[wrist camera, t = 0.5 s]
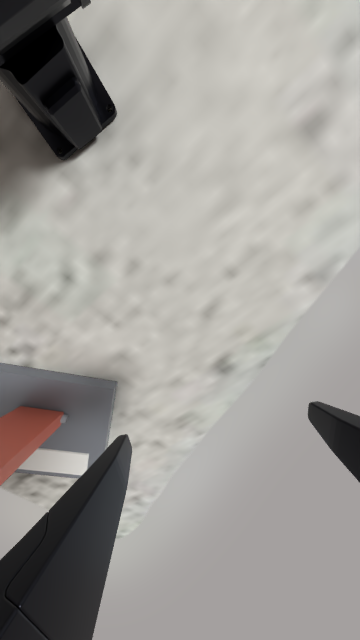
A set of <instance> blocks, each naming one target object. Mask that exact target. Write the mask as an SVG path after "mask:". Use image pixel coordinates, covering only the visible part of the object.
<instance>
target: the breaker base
mask: <svg viewBox="0 0 360 640" xmlns="http://www.w3.org/2000/svg"><path fill="white" fill-rule="evenodd" d="M116 387H117V382H116V381H110V380H103V379H97V378H91V377H85V376H79V375H72V374H66V373H60V372H54V371H48V370H41V369H35V368H29V367H23V366H16V365H10V364H4V363H0V417H2V416H4V415H6V414H8V413H9V412H11V411H13V410H14V409H15V408H18V407H20V406H24V407H31V408H38V409H46V410H53V411H60V412H64V415H69V417H68V420H67V422H66V423H61V426H60V427H59V428H58V429H57V430H56V431H55V432H54V433H53V434H52V435H51V436H50V437H49V438H48V439H47V440H46V441H45V442H44V443H43V444H42V445H41V446H40V447H39V448H38V449H37V450H36V451H35V452H34V453H33V454H32V455H31V456H30V457H29V458H28V459H27V460H26V461H25V462H24V463H23V464H22V465H21V466H20V467H19V468H18V469H17V470H16V471H15V472H19V473H29V474H39V475H49V476H59V477H69V478H80V477H81V476H82V475H83V474H84V472H85V471H86V470H87V469H88V468H89V467H90V466H91V465H92V464H93V463H94V462H95V461H96V460H97V459H98V458H99V456H100V455H101V454H102V453H103V452H104V451H105V450H106V449H107V445H108V439H109V432H110V426H111V419H112V413H113V406H114V400H115V394H116Z"/></svg>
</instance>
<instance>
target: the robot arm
mask: <svg viewBox="0 0 360 640" xmlns="http://www.w3.org/2000/svg"><path fill="white" fill-rule="evenodd" d="M90 3H91V1H90V0H0V80H1V81H2V82H3V84H4V85H5V86H6V87H7V88H8V89H9V90H10V91H11V92H12V93H13V94H14V96H15V97H16V99H17V100H18V102H19V103H20V104H21V106H22V107H23V109H24V110H25V112H26V113H27V114H28V116H29V117H30V119H31V120H32V122H33V123H34V124H35V126H36V127H37V129H38V130H39V132H40V133H41V134H42V136H43V137H44V139H45V140H46V142H47V143H48V144H49V146H50V147H51V149H52V150H53V151H54V153H55V154H56V155H57V156H58V157H59V158H60V159H62V160H65V159H67V158H68V157H69V156H70V155H72V154H73V153H74V152H75V151H76V150H78V149H81V148H82V147H83V146H85V145H86V144H87V143H88V142H89V141H91V140H92V139H93V138H94V137H95V136H97V135H98V134H99V133H100V132H101V130H102V129H103V128H104V127H105V126H106V125H107V124H109V123H110V122H111V121H112V120H113V119H115V117H116V115H117V111H116V108H115V105H114V103H113V101H112V100H111V98H110V96H109V95H108V93H107V91H106V89H105V88H104V86H103V84H102V82H101V81H100V79H99V77H98V75H97V74H96V72H95V70H94V69H93V67H92V65H91V63H90V62H89V60H88V58H87V56H86V55H85V53H84V51H83V49H82V48H81V46H80V44H79V43H78V41H77V39H76V37H75V36H74V33H73V31H72V28H71V26H70V24H69V21H68V19H67V16H68V15H69V14H71V13H72V12H74V11H75V10H76V9H78V8H79V7H80V6H82V8H83V9H84V8H85V7H86V6H88V5H89V4H90ZM110 108H111V109H112V112H108V109H110ZM60 150H63V152H62V154H59V151H60ZM308 418H309V420H310V422H311V423H312V425H313V426H314V427H315V429H316V430H317V431H318V433H319V434H320V435H321V437H322V438H323V439H324V441H325V442H326V443H327V445H328V446H329V448H330V449H331V450H332V451H333V452H334V454H335V455H336V456H337V457H338V458H339V459H340V461H341V462H342V463H343V464H344V465H345V466H346V467H347V469H348V470H349V471H350V472H351V473H352V474H353V475H354V476H355V477H356V479H357V480H358V481H359V482H360V416H358V415H355V414H352V413H349V412H347V411H344V410H341V409H338V408H335V407H333V406H330V405H327V404H324V403H321V402H318V401H317V402H311V403H309V407H308ZM131 455H132V446H131V443H130V440H129V437H128V435H127V434H125V435H120V436H118V437H117V438H116V439H115V440H114V441H113V443H112V444H111V445H110V446H109V447H108V448H107V449H106V450H105V451H104V452H103V453H102V454H101V455H100V456H99V458H98V459H97V460H96V461H95V462H94V463H93V464H92V465H91V466H90V467H89V468H88V469H87V470H86V471H85V472H84V474H83V475H82V476H81V477H80V478H79V479H78V480H77V481H76V482H75V483H74V484H73V485H72V486H71V487H70V489H69V490H68V491H67V492H66V493H65V494H64V495H63V496H62V497H61V498H60V499H59V500H58V501H57V502H56V503H55V505H54V506H53V507H52V508H51V509H50V510H49V513H48V512H47V513H46V514H45V515H44V516H43V517H42V518H41V519H40V520H39V521H38V522H37V523H36V524H35V525H34V526H33V527H32V529H31V530H30V531H29V532H28V533H27V534H26V535H25V536H24V537H23V538H22V539H21V540H20V541H19V542H18V543H17V544H16V545H15V546H14V547H13V548H12V549H11V550H10V551H9V552H8V553H7V554H6V555H5V556H4V557H3V558H2V559H1V560H0V640H92V637H93V633H94V628H95V624H96V620H97V615H98V611H99V607H100V602H101V598H102V593H103V589H104V585H105V581H106V577H107V572H108V568H109V563H110V559H111V555H112V551H113V546H114V542H115V538H116V533H117V529H118V525H119V521H120V516H121V512H122V508H123V503H124V499H125V495H126V490H127V485H128V478H129V470H130V463H131Z"/></svg>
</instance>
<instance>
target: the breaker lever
mask: <svg viewBox="0 0 360 640" xmlns="http://www.w3.org/2000/svg"><path fill="white" fill-rule="evenodd" d="M68 417H69V415H64V412H60V411H53V410H46V409H38V408H31V407H24V406H20V407H18V408H15V409H14V410H13V411H11V412H9V413H8V414H6V415H4V416H2V417H0V486H1V485H2V484H3V483H4V482H5V481H6V480H7V479H8V478H9V477H10V476H11V475H12V474H13V473H14V472H15V471H16V470H17V469H18V468H19V467H20V466H21V465H22V464H23V463H24V462H25V461H26V460H27V459H28V458H29V457H30V456H31V455H32V454H33V453H34V452H35V451H36V450H37V449H38V448H39V447H40V446H41V445H42V444H43V443H44V442H45V441H46V440H47V439H48V438H49V437H50V436H51V435H52V434H53V433H54V432H55V431H56V430H57V429H58V428H59V427H60V426H61V423H66V422H67V420H68Z"/></svg>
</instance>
